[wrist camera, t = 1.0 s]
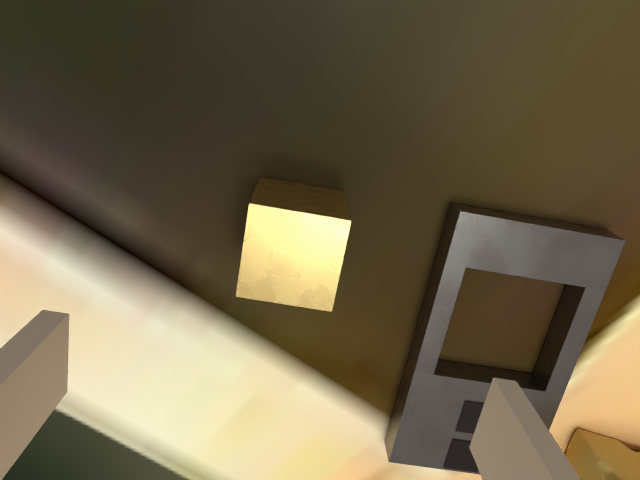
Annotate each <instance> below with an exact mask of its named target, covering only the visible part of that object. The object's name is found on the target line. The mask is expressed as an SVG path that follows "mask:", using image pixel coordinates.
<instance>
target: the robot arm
mask: <svg viewBox="0 0 640 480" xmlns="http://www.w3.org/2000/svg"><path fill="white" fill-rule="evenodd" d="M68 340H69V314H67V313H60V312H53V311H47V310H42V311H41V312H40V313H39V314H38V315H37V316H35V317H34V318H33V319H32V320H31V321H30V322H29V323H28V324H27V325H26V326H25V327H23V328H22V329H21V330H20V331H19V332H18V333H17V334H16V335H15V336H14V337H13V338H11V339H10V340H9V341H8V342H7V343H6V344H5V345H4V346H3V347H2V348H0V480H2V478H3V477H4V476H5V475H6V473H7V472H8V471H9V469H10V468H11V466H12V465H13V464H14V462H15V461H16V460H17V458H18V457H19V456H20V454H21V453H22V452H23V450H24V449H25V448H26V446H27V445H28V444H29V442H30V441H31V440H32V438H33V437H34V436H35V434H36V433H37V432H38V430H39V429H40V427H41V426H42V425H43V423H44V422H45V421H46V419H47V418H48V417H49V415H50V414H51V413H52V411H53V410H54V409H55V407H56V406H57V405H58V403H59V402H60V401H61V399H62V398H63V397H64V395H65V394H66V393H67V378H68ZM469 448H470V450H471V453H472V455H473V458H474V460H475V462H476V465H477V467H478V469H479V472H480V474H481V477H482V479H483V480H581V479H580V477H579V476H578V474H577V473H576V471H575V470H574V468H573V467H572V465H571V464H570V462H569V461H568V459H567V458H566V456H565V455H564V453H563V452H562V450H561V448H560V447H559V445H558V444H557V442H556V441H555V439H554V438H553V436H552V435H551V433H550V432H549V430H548V429H547V427H546V426H545V424H544V423H543V421H542V420H541V418H540V416H539V415H538V413H537V412H536V410H535V409H534V407H533V406H532V404H531V403H530V401H529V400H528V398H527V397H526V395H525V394H524V392H523V391H522V389H521V387H520V386H519V384H518V383H517V381H513V380H506V379H500V378H493V380H492V382H491V385H490V388H489V391H488V394H487V397H486V400H485V403H484V406H483V409H482V412H481V414H480V417H479V420H478V423H477V426H476V429H475V432H474V435H473V438H472V441H471V444H470V447H469Z"/></svg>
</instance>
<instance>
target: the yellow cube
mask: <svg viewBox="0 0 640 480" xmlns="http://www.w3.org/2000/svg"><path fill="white" fill-rule="evenodd" d="M350 225H351V218H350V214H349V210H348V206H347V202H346V198H345V194H344V191H339V190H333V189H328V188H322V187H316V186H311V185H305V184H299V183H294V182H288V181H282V180H276V179H271V178H265V177H260V180H259V182H258V184H257V186H256V189H255V191H254V193H253V195H252V198H251V200H250V202H249V207H248V214H247V221H246V228H245V235H244V242H243V249H242V256H241V263H240V270H239V277H238V284H237V291H236V297H242V298H248V299H254V300H261V301H267V302H273V303H280V304H286V305H292V306H299V307H305V308H312V309H318V310H324V311H331V312H332V309H333V304H334V299H335V295H336V290H337V285H338V281H339V276H340V271H341V267H342V262H343V257H344V253H345V248H346V243H347V239H348V234H349V229H350Z"/></svg>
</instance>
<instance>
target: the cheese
mask: <svg viewBox="0 0 640 480" xmlns="http://www.w3.org/2000/svg"><path fill="white" fill-rule="evenodd" d="M565 456H566V458H567V459H568V461H569V462H570V464H571V465H572V467H573V468H574V470H575V471H576V473H577V474H578V476H579V477H580V479H581V480H640V451H638V452H635V451H632V450H631V449H629V448H628V447H626V446H625V445H624V444H623V443H621V442H620V441H619V440H616V439H612V438H609V437H606V436H601V435H598V434H595V433H592V432H589V431H585V430H582V429H577V430H576V431H575V433H574V434H573V436H572V438H571V441H570V443H569V445H568V448H567V451H566V453H565Z"/></svg>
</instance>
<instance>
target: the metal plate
mask: <svg viewBox="0 0 640 480" xmlns="http://www.w3.org/2000/svg"><path fill="white" fill-rule="evenodd" d="M625 241H626V240H624V239H622V238H620V237H619V236H617V235H615V234H613V233H611V232H610V231H608V230H605V229H599V228H594V227H588V226H582V225H577V224H571V223H565V222H560V221H554V220H549V219H543V218H537V217H532V216H526V215H520V214H515V213H509V212H503V211H498V210H492V209H487V208H481V207H475V206H470V205H464V204H458V203H453V202H451V204H450V207H449V211H448V215H447V218H446V222H445V225H444V229H443V233H442V236H441V240H440V243H439V247H438V251H437V254H436V258H435V261H434V265H433V269H432V272H431V276H430V279H429V283H428V287H427V290H426V294H425V297H424V301H423V305H422V308H421V312H420V315H419V319H418V323H417V326H416V330H415V333H414V337H413V341H412V344H411V348H410V352H409V355H408V359H407V362H406V366H405V370H404V373H403V377H402V380H401V384H400V388H399V391H398V395H397V398H396V402H395V406H394V409H393V413H392V416H391V420H390V424H389V427H388V431H387V434H386V438H385V446H386V451H387V456H388V461H389V462H393V463H400V464H407V465H415V466H422V467H430V468H437V469H445V470H452V471H459V472H467V473H474V474H480V472H479V469H478V467H477V465H476V462H475V460H474V458H473V455H472V453H471V450H470V448H469V447H470V444H471V441H472V438H473V435H474V432H475V429H476V426H477V423H478V420H479V417H480V414H481V412H482V409H483V406H484V403H485V400H486V397H487V394H488V391H489V388H490V385H491V382H492V380H493V378H500V379H506V380H513V381H517V383H518V384H519V386H520V387H521V389H522V391H523V392H524V394H525V395H526V397H527V398H528V400H529V401H530V403H531V404H532V406H533V407H534V409H535V410H536V412H537V413H538V415H539V416H540V418H541V420H542V421H543V423H544V424H545V426H546V427H547V429H548V430H549V429H550V426H551V424H552V421H553V419H554V416H555V414H556V412H557V409H558V407H559V404H560V402H561V399H562V397H563V394H564V392H565V389H566V387H567V384H568V382H569V379H570V377H571V374H572V372H573V370H574V367H575V365H576V362H577V360H578V357H579V355H580V352H581V350H582V347H583V345H584V342H585V340H586V337H587V335H588V332H589V330H590V327H591V325H592V323H593V320H594V318H595V315H596V313H597V310H598V308H599V305H600V303H601V300H602V298H603V295H604V293H605V290H606V288H607V285H608V283H609V281H610V278H611V276H612V273H613V271H614V268H615V266H616V263H617V261H618V258H619V256H620V253H621V251H622V248H623V246H624V243H625ZM466 267H467V268H473V269H479V270H485V271H491V272H497V273H503V274H509V275H515V276H521V277H527V278H533V279H539V280H545V281H551V282H557V283H563V284H566V285H565V288H564V291H563V293H562V296H561V299H560V301H559V304H558V307H557V309H556V312H555V315H554V317H553V320H552V323H551V325H550V328H549V331H548V333H547V336H546V339H545V341H544V344H543V347H542V349H541V352H540V355H539V357H538V360H537V363H536V365H535V368H534V371H533V373H525V372H519V371H512V370H506V369H499V368H492V367H486V366H479V365H473V364H466V363H460V362H453V361H446V360H440V359H438V358H439V355H440V351H441V348H442V345H443V341H444V338H445V335H446V331H447V328H448V325H449V321H450V318H451V315H452V311H453V308H454V305H455V301H456V298H457V295H458V291H459V288H460V285H461V281H462V278H463V275H464V271H465V268H466Z"/></svg>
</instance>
